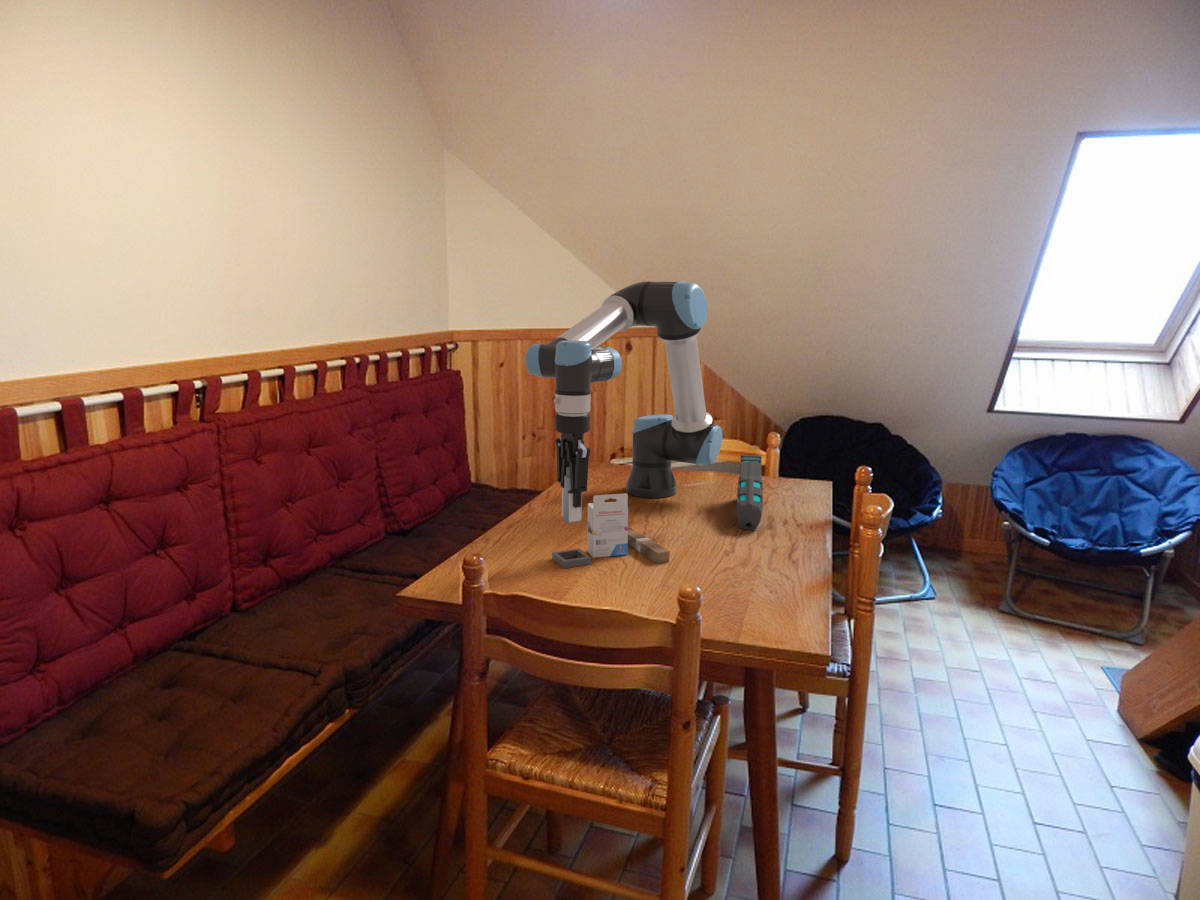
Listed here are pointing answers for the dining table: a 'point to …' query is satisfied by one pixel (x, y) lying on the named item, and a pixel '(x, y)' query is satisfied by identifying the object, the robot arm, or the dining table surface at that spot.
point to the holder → (581, 560)
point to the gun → (749, 492)
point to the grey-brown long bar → (647, 547)
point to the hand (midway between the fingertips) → (571, 518)
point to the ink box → (607, 526)
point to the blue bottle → (567, 495)
